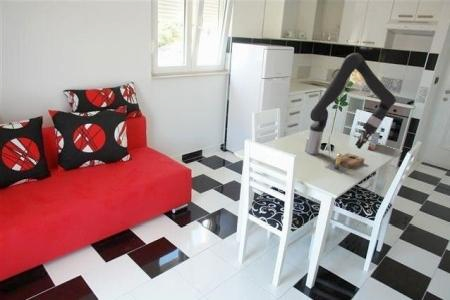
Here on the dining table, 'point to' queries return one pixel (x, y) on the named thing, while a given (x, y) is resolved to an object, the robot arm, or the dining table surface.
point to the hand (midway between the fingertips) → (357, 146)
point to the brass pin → (338, 161)
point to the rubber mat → (331, 167)
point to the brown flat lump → (351, 160)
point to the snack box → (374, 139)
